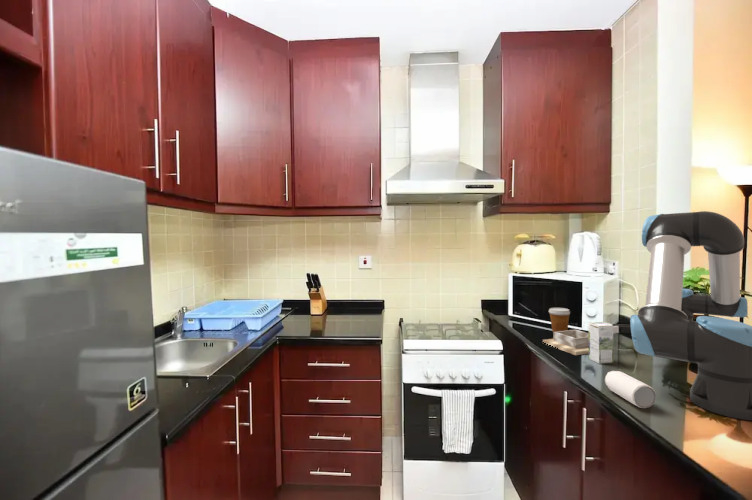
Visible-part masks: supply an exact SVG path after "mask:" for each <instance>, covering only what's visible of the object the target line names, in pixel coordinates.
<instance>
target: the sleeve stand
mask: <svg viewBox="0 0 752 500" xmlns="http://www.w3.org/2000/svg"><path fill="white" fill-rule="evenodd" d="M552 333H553V337H552V338H548V339H546V338H545V339H542V343H543V342H544V343H546V344H545V345H547V344H548V345H547V346H549V345H551V346H550V347H552V346H553V347H552V348H555V347H556V348H555V349H557V348H558V350H560V351H564V352H566V353H569V354H571V355H573V356H580V355H589V332H586V331H582V330H578V329H576V328H575V329H569V330H566V331H557V332H553V331H552ZM544 343H543V344H544Z"/></svg>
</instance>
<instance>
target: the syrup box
mask: <svg viewBox="0 0 752 500" xmlns="http://www.w3.org/2000/svg"><path fill="white" fill-rule="evenodd" d="M587 325H588V326H587V328H588V329H587V331H588V332H587V333H589V354H588V359H589V360H590V361H592V362H594V363H597V364H599V365H601V364H604V365H605V364H614V334H613V325H612V324H611V323H609V322H605V321H594V322H593V321H592V322H591V321H589V322H588V323H587Z"/></svg>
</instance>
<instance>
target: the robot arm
mask: <svg viewBox="0 0 752 500" xmlns="http://www.w3.org/2000/svg"><path fill="white" fill-rule="evenodd" d="M641 229H642V230H641V231H642V233H641V244H642V246H643V247H644V248H646V249H647V251H648V252H650V262H649V270H648V278H647V279H648V280H647V287H646V295H645V304H644V305H643V306H641V307H639V309H638V313H637V314H632V315H630V319H629V322H630V323H629V324H624V323H621V324H619V323H617V324H616V323H612V324H611V325H613V335H614V334H619V333H629V334H630V333H631V339H632V344H633V348H634V350H635V351H636V352H637V353H638V354H641V355H648V356H651V357H653V358H655V357H656V358H662V359H667V360H675V361H681V362H685V363H686V362H687V363H693V364H697V374H696V376H695V378H694V381H693V384H692V385H691V388H690V390H689V399H690V401H691V402H692V404H694V405H695V406H697V407H699V408H701V409H703V410H705V411H709V412H711V413H714V414H717V415H721V416H725V417H729V418H733V419H738V420H745V421H752V325H750V324H748V323H744V322H741V321H737V320H734V319H729V318H746V317H748V308H749V307H748V299H747V298H746V297H742V296H741V278H740V277H741V275H740V274H741V273H740V271H741V268H740V267H741V266H740V265H741V258H740V257H741V256H740V254H741V251H742V250H744V248H745V237H744V234H743V232H742V230H741V228H739V226H738V225H737V224H736V223H735V221H733V220H731V219H730V218H728V217H727V216H724V215H723V214H720V213H717V212H715V211H714V212H713V211H707V210H706V211H705V210H704V211H703V210H701V211H692V212H690V211H689V212H677V213H676V212H675V213H659V214H654V215H650V216H647V217H646V219H645V220H644V222H643V226H642V228H641ZM692 247H703V249H704V251H706V253H707V256H708V257H707V258H708V259H707V260H708V273H709V286H710V287H709V289H710V292H709V293H710V295H708V294H697V293H695V294H694V291H693V290H692V289H689V288H683V287H684V286H683V285H684V270H685V269H684V268H685V255H686V254H688V253H690V251H691V249H692ZM694 314H698V316H697V317H696V318H695V317H694V316H695V315H694ZM708 315H709V316H708ZM718 316H719V317H718ZM720 316H721V317H720ZM693 317H694V318H695V319H696V321H693ZM723 317H728V318H723Z"/></svg>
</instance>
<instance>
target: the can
mask: <svg viewBox="0 0 752 500" xmlns="http://www.w3.org/2000/svg"><path fill="white" fill-rule="evenodd" d="M604 384H605V385H606V387H607V388H608V389H609V390H610V391H611V392H613V393H614V394H616V395H618V396H619V397H621V398H622V399H625V400H626V401H627V402H629V403H631V404H633V405H634V406H636V407H638V408H641V409H647V408H651V407H652V406H653V405H654V404H655V402H656V401H657V394H656V392H655V390H654V388H653V387H651V386H650V385H648V384H647V383H645V382H643V381H640V380H639V379H637V378H634V377H633V376H631V375H628V374H626V373H624V372H623V371H620V370H619V371H618V370H610V371H608V372H607V373H606V374H605V376H604Z"/></svg>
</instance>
